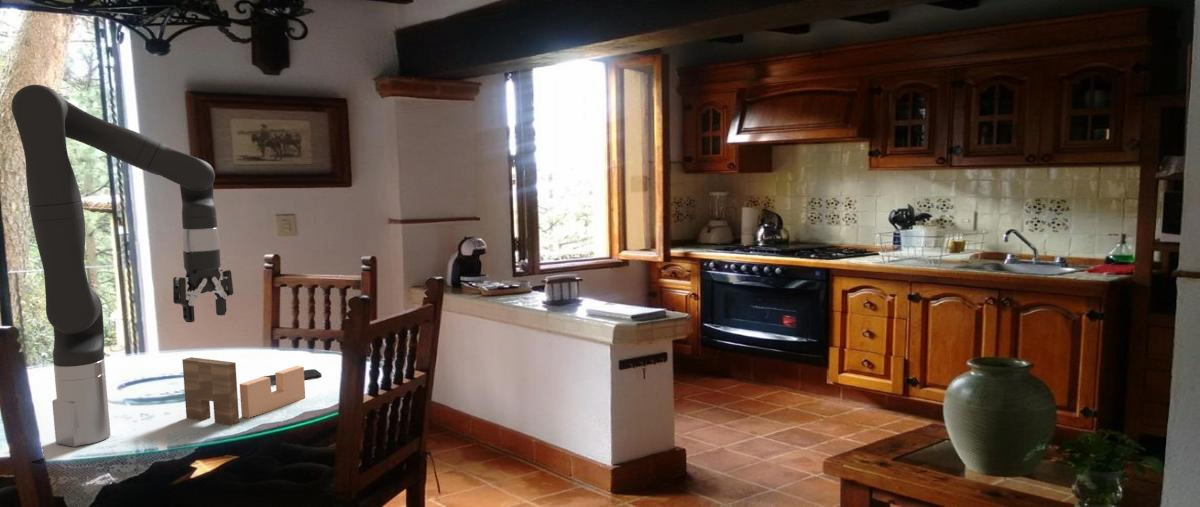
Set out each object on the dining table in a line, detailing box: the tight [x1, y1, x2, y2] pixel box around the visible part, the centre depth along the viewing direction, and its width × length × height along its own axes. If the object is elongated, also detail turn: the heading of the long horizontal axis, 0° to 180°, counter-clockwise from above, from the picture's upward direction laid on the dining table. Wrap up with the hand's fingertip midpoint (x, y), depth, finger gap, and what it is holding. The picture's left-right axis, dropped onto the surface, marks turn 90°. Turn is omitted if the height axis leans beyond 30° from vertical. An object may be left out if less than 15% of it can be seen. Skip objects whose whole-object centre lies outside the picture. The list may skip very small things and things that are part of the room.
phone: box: [262, 368, 322, 386], centre depth 227 cm, size 8×1×15 cm
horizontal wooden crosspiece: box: [239, 365, 306, 419], centre depth 200 cm, size 18×2×8 cm, turn 157°
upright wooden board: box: [181, 357, 240, 426], centre depth 190 cm, size 2×14×14 cm, turn 67°
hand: (205, 318), depth 188 cm, fingers open, 8 cm apart
